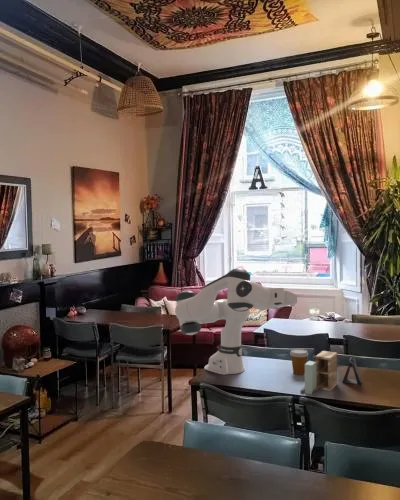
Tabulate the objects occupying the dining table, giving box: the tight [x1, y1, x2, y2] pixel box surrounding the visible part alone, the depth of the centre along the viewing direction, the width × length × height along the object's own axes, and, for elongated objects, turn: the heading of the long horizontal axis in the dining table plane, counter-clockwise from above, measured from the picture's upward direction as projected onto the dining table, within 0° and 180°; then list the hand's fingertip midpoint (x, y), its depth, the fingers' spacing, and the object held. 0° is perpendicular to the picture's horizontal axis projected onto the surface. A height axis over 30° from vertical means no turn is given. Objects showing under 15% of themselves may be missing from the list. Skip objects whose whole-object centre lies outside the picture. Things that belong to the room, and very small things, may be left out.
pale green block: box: [304, 360, 317, 396], centre depth 216 cm, size 4×7×14 cm, turn 147°
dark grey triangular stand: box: [342, 356, 363, 386], centre depth 229 cm, size 9×6×12 cm, turn 66°
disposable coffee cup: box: [289, 348, 309, 376], centre depth 244 cm, size 10×10×12 cm
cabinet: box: [300, 350, 338, 397], centre depth 220 cm, size 11×21×16 cm, turn 147°
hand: (284, 305), depth 204 cm, fingers open, 8 cm apart
